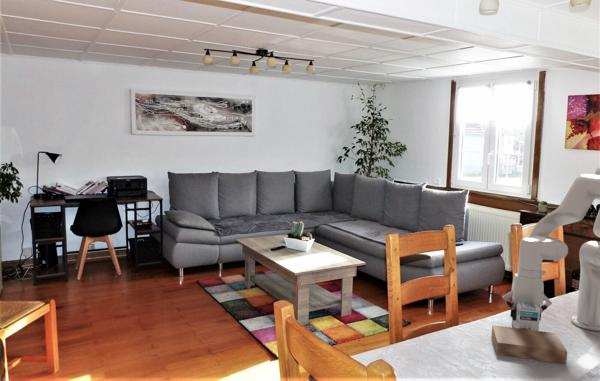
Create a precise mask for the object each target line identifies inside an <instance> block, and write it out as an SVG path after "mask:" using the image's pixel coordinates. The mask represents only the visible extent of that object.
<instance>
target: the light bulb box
mask: <svg viewBox="0 0 600 381" xmlns="http://www.w3.org/2000/svg"><path fill="white" fill-rule="evenodd" d="M515 309H516V319H515V321H513V319H512V318H511V325H512V328H519V329H527V330H535V331H540V330H539V328H540V321H539V319H540V307H539V306H538V305H532V304H525V303H517V306H516V308H515Z"/></svg>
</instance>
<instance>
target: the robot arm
mask: <svg viewBox="0 0 600 381" xmlns="http://www.w3.org/2000/svg"><path fill="white" fill-rule="evenodd" d="M595 200H599V201H600V166H598V167H597V168H596V169H595V172H594V174H593V173H584V174H583V173H582V174H580V175H578V176H576V178H575V179H574V181H573V183H572V184H571V186H570V188H569V189H568V191H567V192H566V194H565V195H564V197H563V199H562V201H561V203H560V205H559V206H557V208H556V209H554V210H553V211H551V212H549V213H548V214H547V215H545V216H544V217H542V218H541V219H539V221H538V222H537V223H536V225H535V226H534V227H533V229H532V231H531V232H530V233H529V236H528V237H523V238H521V239H520V242H519V248H518V249H519V251H518V262H517V273H514V276H513V279H512V284H511V291H509V292H507V293H505V294H504V295H502V299H503V301H504V302H505V303H506V305H507V306H508V307H509V308H510V315H509V316H510V318H511V320H512V319H513V321H515V319H516V309H515V308H516V306H517V303H525V304H532V305H538V306H539V307H540V319H539V322H540V321H541V320H542V313H543V312H544V311H545V310H547V309H548V308H549V307H550V306H552V304H553V302H552V300H550V299H549V298H548V297H547V296H546V294H545V293H544V286H545V285H544V279H543V275H545V276H546V274H547V273H546V272H547V271H546V270H543V269H542V267H543V260H547V261H548V260H549V261H560V260H563V259H565V258H566V257H567V256H568V253H569V246H568V245H567V243H565V241H563V240H561V239H559V238H555V237H552V236H551V235H552V233H554V231H556V230H557V229H558V228H561V227H563V226H566V225H569V224H574V223H577V222H580V221H583V219H584V217H585V216H586V214H587V213H588V211H589V209H590V207H591V206H592V204H593V203H594V201H595ZM593 223H594V224H593V227H592V228H593V230H592V231H593V233H594V236H596V237H598V238H600V208H599V210H598V212H597V215H596V217H595V221H594V222H593ZM578 256H579V263H580V275H579V276H580V277H579V283H578V284H579V286H578V295H577V305H576V306H577V307H576V315H572V317H571V318H570V321H571V323H572V324H573V325H575V326H577V327H580V328H582V329H585V330H589V331H593V332H594V331H596V332H600V241H598V240H590V241H586V242H584V243H583V244H582V245H581V246H580V249H579V253H578ZM509 298H510V299H511V300H512V301H510V299H509ZM544 301H545V303H544Z"/></svg>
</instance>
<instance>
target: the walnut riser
mask: <svg viewBox="0 0 600 381" xmlns="http://www.w3.org/2000/svg"><path fill="white" fill-rule="evenodd" d="M491 327H492V328H491V339H492V343H493V346H494V350H495V354H496V355H501V356H506V357H515V358H522V359H528V360H536V361H543V362H549V363H557V364H563V365H565V364H566V365H567V358H568V350H567V349H566V347H565V345H564V344H563V342H562V340H561V339H560V337H559V335H558V333H555V332H550V331H549V332H548V331H541V330H539V331H535V330H527V329H519V328H514V327H508V326H502V325H501V326H500V325H492V326H491Z"/></svg>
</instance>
